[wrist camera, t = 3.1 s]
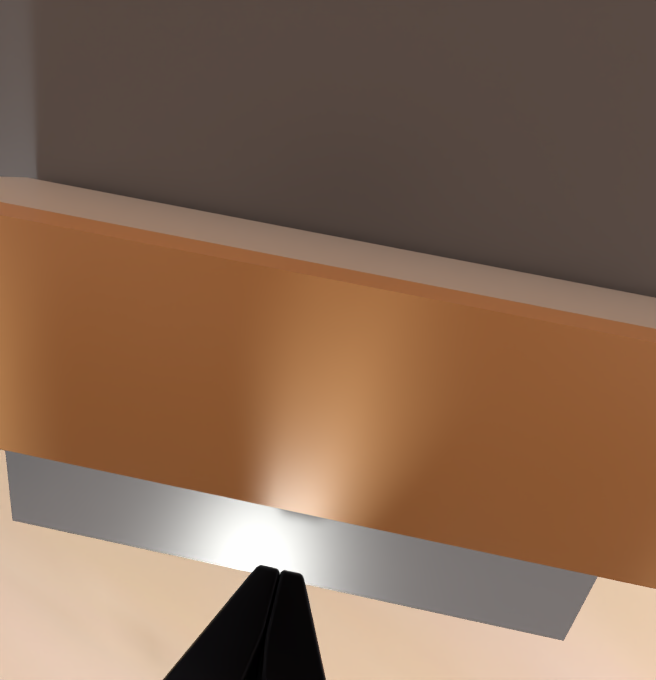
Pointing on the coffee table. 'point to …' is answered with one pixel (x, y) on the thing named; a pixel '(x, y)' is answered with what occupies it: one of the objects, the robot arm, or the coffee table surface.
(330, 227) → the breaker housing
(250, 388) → the knob
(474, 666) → the coffee table surface
